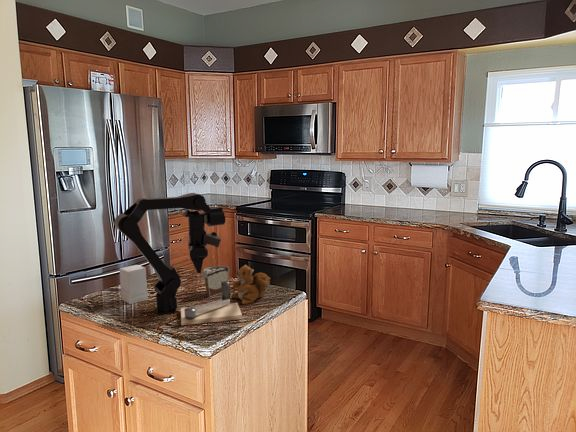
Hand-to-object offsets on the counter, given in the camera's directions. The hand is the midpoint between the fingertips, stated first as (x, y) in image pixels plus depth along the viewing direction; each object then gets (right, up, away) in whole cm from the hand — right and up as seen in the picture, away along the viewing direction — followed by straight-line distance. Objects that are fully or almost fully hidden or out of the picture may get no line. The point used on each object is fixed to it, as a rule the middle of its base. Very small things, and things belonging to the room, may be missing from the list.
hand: (198, 269), depth 164 cm
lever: (+5, -13, -10) cm, 17 cm away
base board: (+6, -15, -10) cm, 19 cm away
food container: (+3, -11, +14) cm, 18 cm away
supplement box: (-26, -13, +7) cm, 30 cm away
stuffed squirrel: (+19, -12, +7) cm, 23 cm away
